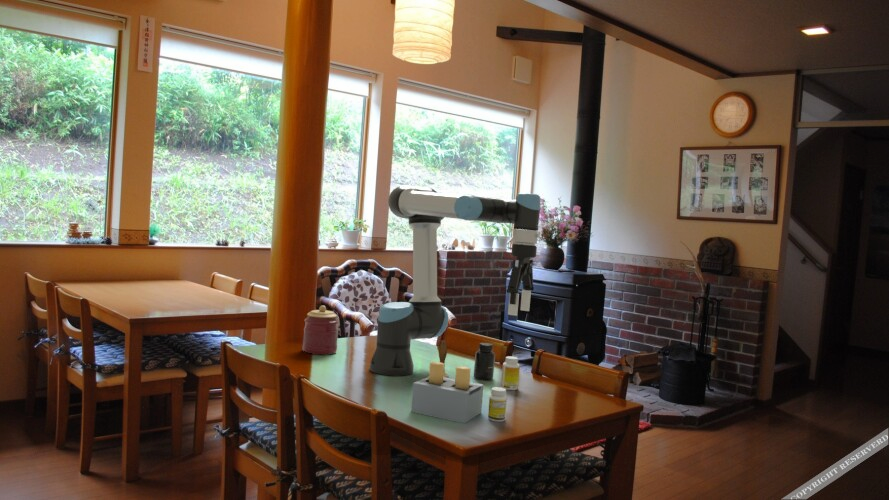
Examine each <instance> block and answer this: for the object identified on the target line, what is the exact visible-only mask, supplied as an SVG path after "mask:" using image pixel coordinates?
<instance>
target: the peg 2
mask: <svg viewBox="0 0 889 500" xmlns="http://www.w3.org/2000/svg"><path fill="white" fill-rule="evenodd" d="M471 370H472V369H471V368H470V367H467V366H456V367H455V377H454V379H455V387H456V388H461V389H466V390H467V389H469V384H470V382H471V380H470V379H471Z"/></svg>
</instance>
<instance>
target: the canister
mask: <svg viewBox="0 0 889 500" xmlns="http://www.w3.org/2000/svg"><path fill="white" fill-rule="evenodd" d="M306 316H307V317H306V318H305V319H304V320H303V321H304V322H305V325H304V328H303V341H302V351H303V352H304V351H305V352H304V353H306V352H308V353H307V354H309V353H312V354H311V355H317V354H322V355H323V356H325V354H328V355H333V353H334V354H336V353H337V351H338V336H339V329H338V324H339V323H340V321H339V320H338V319H337V317H338V314H336V313H335V311H332V310H327V307H326V306H325V305H320V306H319V307H318V309H313V310H311V311H309V312H308V313H307V314H306Z"/></svg>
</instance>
